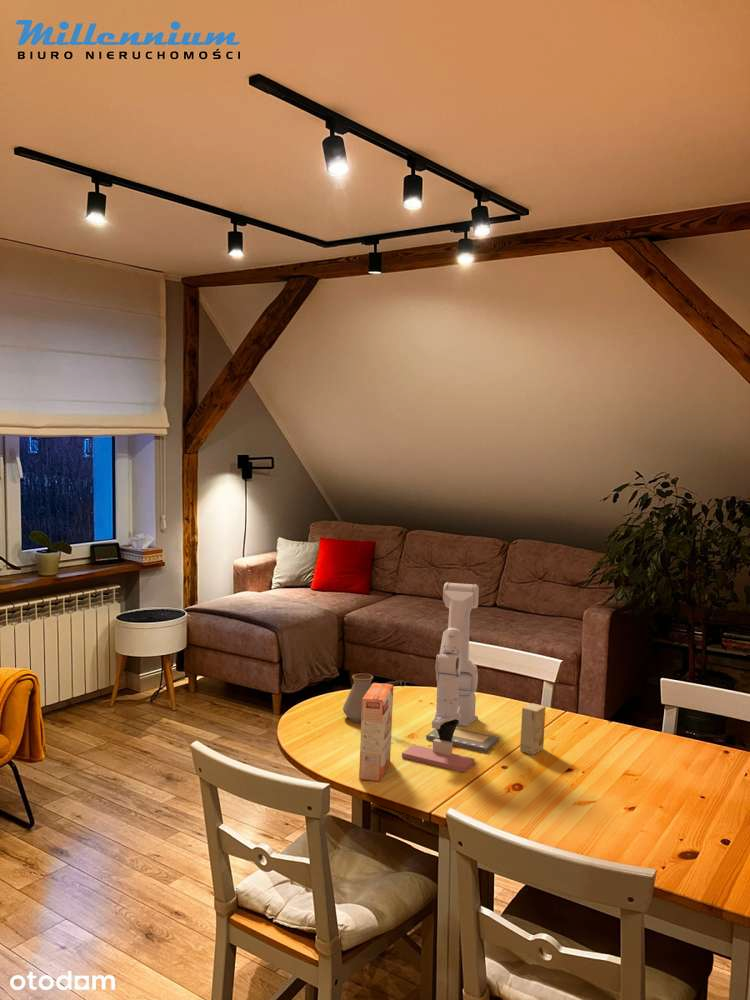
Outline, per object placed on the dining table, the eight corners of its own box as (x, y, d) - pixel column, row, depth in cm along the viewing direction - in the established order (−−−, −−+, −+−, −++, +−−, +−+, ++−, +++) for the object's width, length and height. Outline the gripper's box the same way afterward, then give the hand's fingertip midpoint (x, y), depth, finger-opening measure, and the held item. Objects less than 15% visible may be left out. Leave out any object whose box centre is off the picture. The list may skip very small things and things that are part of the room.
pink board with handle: (413, 748, 225) (413, 733, 224) (474, 763, 216) (475, 747, 216) (401, 757, 218) (402, 741, 218) (464, 772, 210) (464, 756, 209)
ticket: (440, 728, 240) (440, 723, 240) (498, 741, 232) (499, 736, 232) (426, 739, 232) (426, 734, 232) (486, 753, 223) (486, 748, 223)
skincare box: (533, 755, 222) (535, 711, 221) (519, 751, 225) (521, 708, 224) (544, 748, 227) (546, 705, 226) (530, 744, 230) (532, 702, 229)
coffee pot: (334, 718, 247) (335, 669, 245) (359, 708, 255) (360, 661, 254) (390, 736, 233) (392, 685, 232) (414, 725, 242) (416, 676, 241)
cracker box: (381, 783, 203) (384, 700, 201) (358, 780, 204) (360, 698, 202) (392, 760, 216) (394, 683, 214) (369, 758, 217) (371, 681, 216)
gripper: (450, 708, 212) (448, 758, 213) (471, 692, 224) (469, 741, 226) (425, 702, 215) (423, 753, 216) (447, 688, 228) (446, 735, 229)
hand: (445, 746), depth 221 cm, fingers closed
